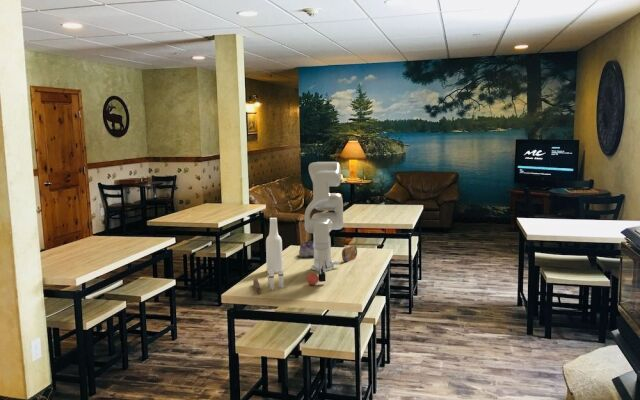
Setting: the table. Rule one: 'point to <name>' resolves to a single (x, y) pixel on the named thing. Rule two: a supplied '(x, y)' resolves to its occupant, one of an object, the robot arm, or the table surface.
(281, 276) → the front pin
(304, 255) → the geode
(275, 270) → the alcohol
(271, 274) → the back pin left
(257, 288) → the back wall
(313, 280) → the ball
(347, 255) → the brown rock slab
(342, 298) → the table surface
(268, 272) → the back pin right
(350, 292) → the table surface
